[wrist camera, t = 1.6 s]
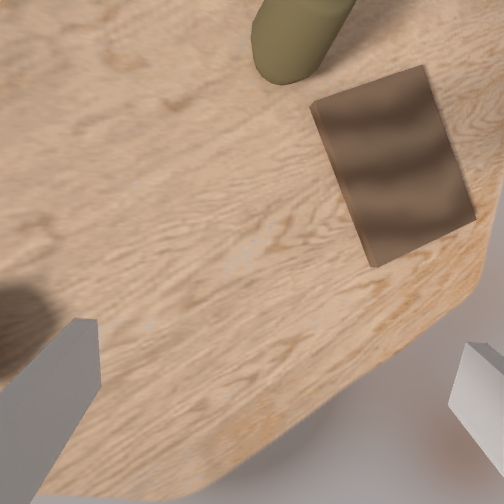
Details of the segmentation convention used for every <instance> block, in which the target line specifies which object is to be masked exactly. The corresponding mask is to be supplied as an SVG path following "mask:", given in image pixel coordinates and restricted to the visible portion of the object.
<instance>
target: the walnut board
mask: <svg viewBox="0 0 504 504" xmlns="http://www.w3.org/2000/svg"><path fill="white" fill-rule="evenodd" d="M309 108H310V110H311V113H312V115H313V118H314V121H315V123H316V126H317V128H318V131H319V134H320V136H321V139H322V141H323V144H324V147H325V149H326V152H327V154H328V157H329V160H330V162H331V165H332V167H333V170H334V173H335V175H336V178H337V181H338V183H339V186H340V188H341V191H342V194H343V196H344V199H345V201H346V204H347V207H348V209H349V212H350V214H351V217H352V220H353V222H354V225H355V227H356V230H357V233H358V235H359V238H360V240H361V243H362V246H363V248H364V251H365V253H366V256H367V259H368V261H369V264H370V266H371V267H380V266H382V265H384V264H386V263H388V262H390V261H392V260H394V259H396V258H398V257H400V256H403V255H405V254H407V253H409V252H411V251H413V250H415V249H417V248H419V247H421V246H423V245H425V244H427V243H429V242H431V241H434V240H436V239H438V238H440V237H442V236H444V235H446V234H448V233H450V232H452V231H454V230H456V229H458V228H460V227H462V226H464V225H467V224H469V223H471V222H473V221H475V220H477V219H476V217H475V214H474V211H473V208H472V205H471V203H470V200H469V197H468V194H467V191H466V188H465V186H464V183H463V180H462V177H461V174H460V171H459V169H458V166H457V163H456V160H455V157H454V154H453V152H452V149H451V146H450V143H449V140H448V138H447V135H446V132H445V129H444V126H443V123H442V121H441V118H440V115H439V112H438V109H437V106H436V104H435V101H434V98H433V95H432V92H431V90H430V87H429V84H428V81H427V78H426V75H425V73H424V70H423V67H422V65H420V66H417V67H414V68H411V69H408V70H405V71H402V72H399V73H396V74H393V75H390V76H388V77H385V78H382V79H379V80H376V81H373V82H370V83H367V84H364V85H361V86H358V87H355V88H352V89H349V90H346V91H344V92H341V93H338V94H335V95H332V96H329V97H326V98H323V99H320V100H317V101H314V103H313V104H312V105H311V106H310V107H309Z"/></svg>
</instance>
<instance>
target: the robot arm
mask: <svg viewBox="0 0 504 504" xmlns="http://www.w3.org/2000/svg"><path fill="white" fill-rule="evenodd" d="M100 388H101V373H100V357H99V341H98V325H97V319H81V318H74V319H73V320H72V321H71V322H70V323H69V324H68V325H67V326H66V327H65V328H64V329H63V330H62V331H61V332H60V333H59V334H58V335H57V336H56V337H55V338H54V339H53V340H52V341H51V342H50V343H49V344H48V345H47V346H46V347H45V348H44V349H43V350H42V351H41V352H40V353H39V354H38V355H37V356H36V357H35V358H34V359H33V360H32V361H31V362H30V363H29V364H28V365H27V366H26V367H25V368H24V369H23V370H22V371H21V372H20V373H19V374H18V375H17V376H16V377H15V378H14V379H13V380H12V381H11V382H10V383H9V384H8V385H7V386H6V387H5V388H4V389H3V390H2V391H1V392H0V504H30V502H31V501H32V499H33V497H34V496H35V494H36V493H37V491H38V489H39V488H40V486H41V484H42V483H43V481H44V479H45V478H46V476H47V475H48V473H49V471H50V470H51V468H52V466H53V465H54V463H55V461H56V460H57V458H58V456H59V455H60V453H61V452H62V450H63V448H64V447H65V445H66V443H67V442H68V440H69V438H70V437H71V435H72V433H73V432H74V430H75V429H76V427H77V425H78V424H79V422H80V420H81V419H82V417H83V415H84V414H85V412H86V411H87V409H88V407H89V406H90V404H91V402H92V401H93V399H94V397H95V396H96V394H97V392H98V391H99V389H100ZM448 406H449V407H450V409H451V410H452V411H453V412H454V414H455V415H456V416H457V417H458V419H459V420H460V422H461V423H462V424H463V425H464V427H465V428H466V429H467V431H468V432H469V433H470V434H471V436H472V437H473V438H474V440H475V441H476V442H477V444H478V445H479V446H480V447H481V448H482V450H483V451H484V452H485V454H486V455H487V456H488V458H489V459H490V460H491V461H492V463H493V464H494V465H495V467H496V468H497V469H498V471H499V472H500V473H501V475H502V476H503V477H504V357H503V356H502V355H500V354H499V353H498V352H497V351H496V350H495V349H493V348H492V347H491V346H490V345H488V344H487V343H475V342H466V345H465V348H464V351H463V355H462V358H461V362H460V366H459V369H458V372H457V375H456V379H455V382H454V385H453V389H452V392H451V396H450V399H449V402H448Z"/></svg>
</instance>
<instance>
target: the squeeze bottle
mask: <svg viewBox="0 0 504 504" xmlns="http://www.w3.org/2000/svg"><path fill="white" fill-rule="evenodd" d="M355 2H356V0H264V2H263V4H262V6H261V7H260V9H259V11H258V13H257V15H256V17H255V19H254V21H253V23H252V32H251V44H252V51H253V58H254V62H255V65H256V69H257V70H258V71H259V73H260V74H261V76H262V77H263V78H265V79H266V80H268V81H269V82H270V83H273V84H277V85H286V84H291V83H293V82H296V81H298V80H301V79H304V78H306V77H308V76H309V75H310V74H312V73H313V72H314V71H316V70H317V69H318V67H319V66H320V64H321V62H322V60H323V59H324V57H325V55H326V53H327V52H328V50H329V48H330V46H331V44H332V43H333V41H334V39H335V37H336V36H337V34H338V32H339V30H340V29H341V27H342V25H343V23H344V22H345V20H346V18H347V16H348V15H349V13H350V11H351V9H352V7H353V6H354V4H355Z"/></svg>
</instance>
